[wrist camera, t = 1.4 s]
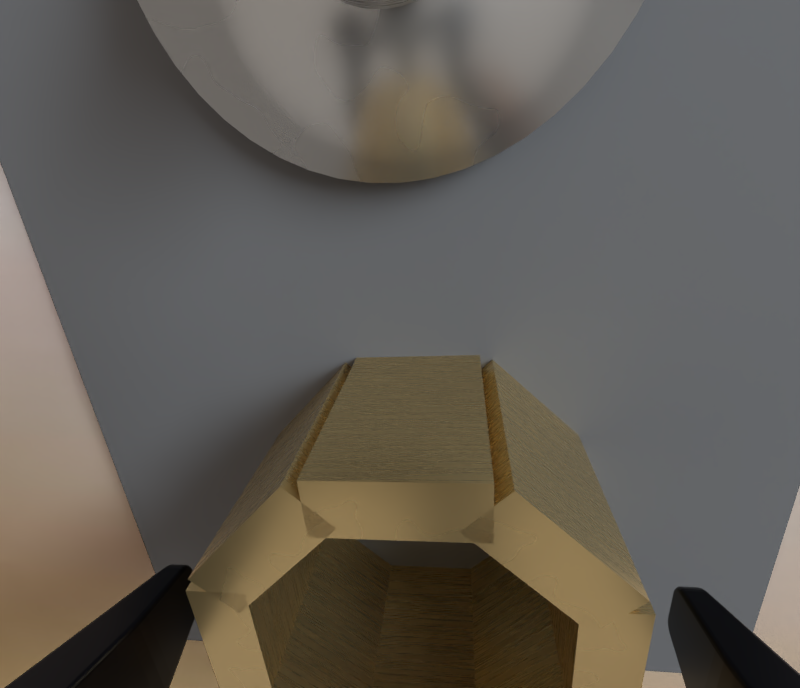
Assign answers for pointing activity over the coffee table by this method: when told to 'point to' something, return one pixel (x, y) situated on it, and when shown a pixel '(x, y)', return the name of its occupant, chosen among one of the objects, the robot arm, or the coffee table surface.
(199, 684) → the coffee table surface
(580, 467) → the bronze ring
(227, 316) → the mat
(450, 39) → the silver rounded piece
